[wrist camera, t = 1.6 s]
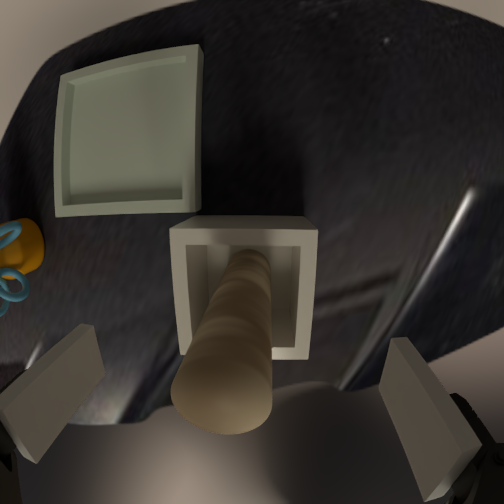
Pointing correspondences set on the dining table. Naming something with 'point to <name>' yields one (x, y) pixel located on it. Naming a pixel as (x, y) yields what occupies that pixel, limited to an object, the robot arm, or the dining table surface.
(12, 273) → the tube with teal loops
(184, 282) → the hollow square block
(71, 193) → the tray
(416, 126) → the dining table surface
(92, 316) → the dining table surface
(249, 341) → the dowel
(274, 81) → the dining table surface
